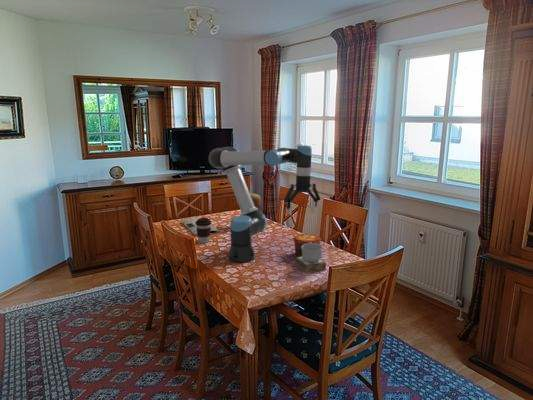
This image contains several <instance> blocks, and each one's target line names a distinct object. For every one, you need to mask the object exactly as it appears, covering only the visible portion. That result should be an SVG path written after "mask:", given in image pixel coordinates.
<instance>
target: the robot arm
mask: <svg viewBox="0 0 533 400" xmlns="http://www.w3.org/2000/svg"><path fill="white" fill-rule="evenodd" d="M312 152H313V151H312V146H311V145H306V144H305V145H303V144H301V145H300V144H299V145H297V147H296V148H290V147H289V148H288V147H278V148H277V149H269V150H268V149H267V150H239V149H238V148H237V147H235V146H225V147H224V146H223V147H217V148H214V149H212V150H211V151H210V153H209V155H208V162H209V164H210V166H211V167H213V168H215V169H221V170H222V172H223V173H224V174H225V175H227V179H228V181H229V183H230V185H231V188H232V191H233V193H234V197H235V199H236V203H237V204H238V207H239V209H240V212H241V213H240V214H239V215H237V216H234V217H232V219H231V220H230V226H229V229H230V247H229V251H228V253H227V259H228V260H229V261H231V262H234V263H240V264H242V263H248V262H252V261H253V260H255V258H256V254H255V250H254V247H253V245H252V239H253V236H255V235H257V234H260V233H262V232H263V231H264V230H265V229H266V227H267V223H268V222H267V217H266V215H265V214H264V213H262V212H261V210H260V211H259V209H258V208H256V207H255V206H254V203H253V200H252V198H251V195H250V194H251V193H250V190H249V188H248V185H247V182H246V180H245V177H244V174H243V173H242V170H241V168H242V166H264V165H265V166H273V167H274V166H278V165H281V164H287V163H291V164H294V163H295V164H296V176H295V177H296V178H295V184H294V183H290V184H289V188H288V190H287V192H286V194H285V196H284V199H283V201H284V202H285V203H286V208H287V209H288V211H287V212H288V215H290V216H292V211H293V203H292V202H293V200H294V199H295V198H296V197H297V195H299V193H307V194H308V195H309V196H310V197H311V199H312V201H311V214H316V208H317V204H318V202H319V201H320V200H321V198H320V195H319V192H318V190H317V188H316V187H317V185H316V183H314V182H311V174H312V173H311V171H312V170H311V169H312V155H313V154H312ZM311 188H312V191H311Z"/></svg>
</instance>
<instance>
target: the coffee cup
mask: <svg viewBox="0 0 533 400" xmlns="http://www.w3.org/2000/svg"><path fill="white" fill-rule="evenodd" d="M198 218H199V219H198V221H196V222H195V223H196V225H197V235H196V237H197V241H198V243H200V244H208V243H210V241H211V232H212V231H211V226H210V224H211V225H212V220H210V219H209V218H208V217H198Z"/></svg>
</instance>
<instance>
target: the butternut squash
mask: <svg viewBox="0 0 533 400" xmlns="http://www.w3.org/2000/svg"><path fill="white" fill-rule="evenodd" d="M250 195H251V198H252V200H253V203H254V206H255V207H256V208H258V209H259V211H260V212H261V209H262V197H261V195H259V194H257V193H254V192H253V193H250Z"/></svg>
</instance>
